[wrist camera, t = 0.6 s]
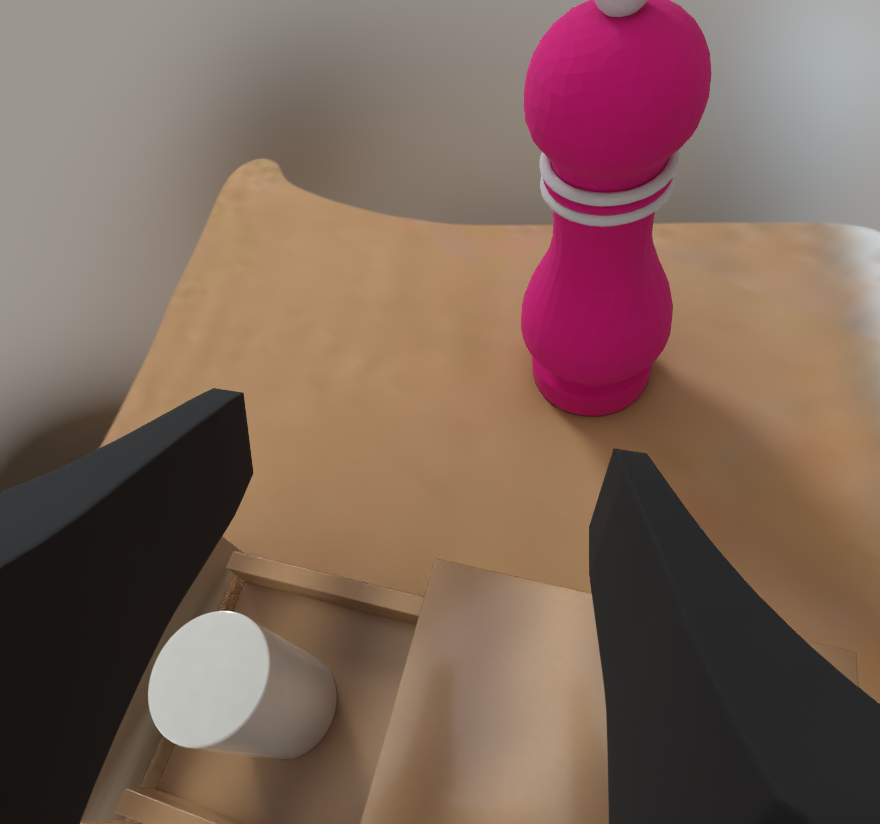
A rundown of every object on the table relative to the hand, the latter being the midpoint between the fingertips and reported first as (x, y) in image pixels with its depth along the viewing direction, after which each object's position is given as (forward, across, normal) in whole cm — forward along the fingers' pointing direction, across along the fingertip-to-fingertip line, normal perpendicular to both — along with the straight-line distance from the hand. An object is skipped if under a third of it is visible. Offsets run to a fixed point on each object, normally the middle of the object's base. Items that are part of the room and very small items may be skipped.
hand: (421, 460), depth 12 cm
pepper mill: (+21, -7, +9) cm, 24 cm away
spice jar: (+4, +5, +17) cm, 18 cm away
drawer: (+5, +7, +18) cm, 20 cm away
